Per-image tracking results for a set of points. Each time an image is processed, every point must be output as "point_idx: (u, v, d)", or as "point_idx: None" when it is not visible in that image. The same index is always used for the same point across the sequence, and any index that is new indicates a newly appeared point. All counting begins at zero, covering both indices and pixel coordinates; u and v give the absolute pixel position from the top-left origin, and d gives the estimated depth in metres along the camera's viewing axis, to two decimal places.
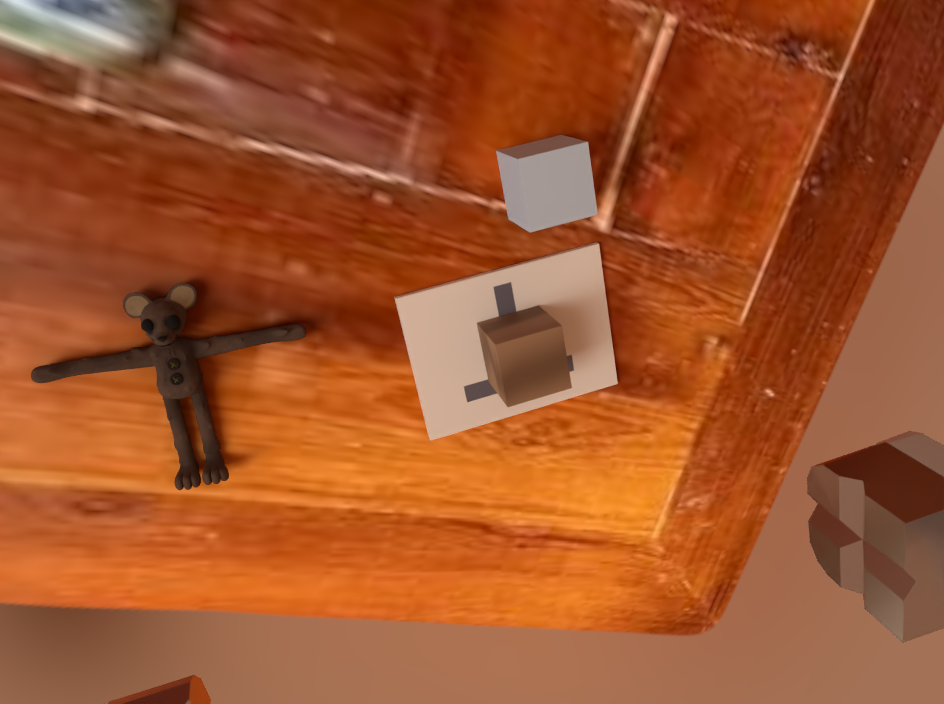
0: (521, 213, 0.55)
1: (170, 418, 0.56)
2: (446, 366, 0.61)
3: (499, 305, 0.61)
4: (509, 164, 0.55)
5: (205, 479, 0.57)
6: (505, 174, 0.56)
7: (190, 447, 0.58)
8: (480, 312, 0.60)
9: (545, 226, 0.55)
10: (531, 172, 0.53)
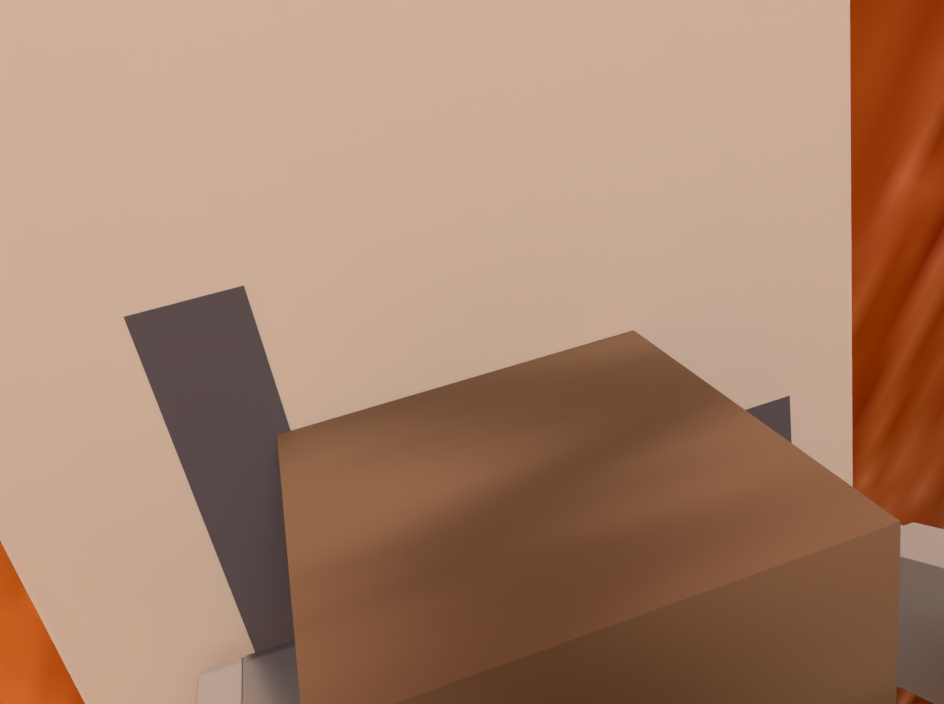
0: None
1: None
2: (389, 165, 0.10)
3: None
4: None
5: None
6: None
7: None
8: (678, 346, 0.11)
9: None
10: None
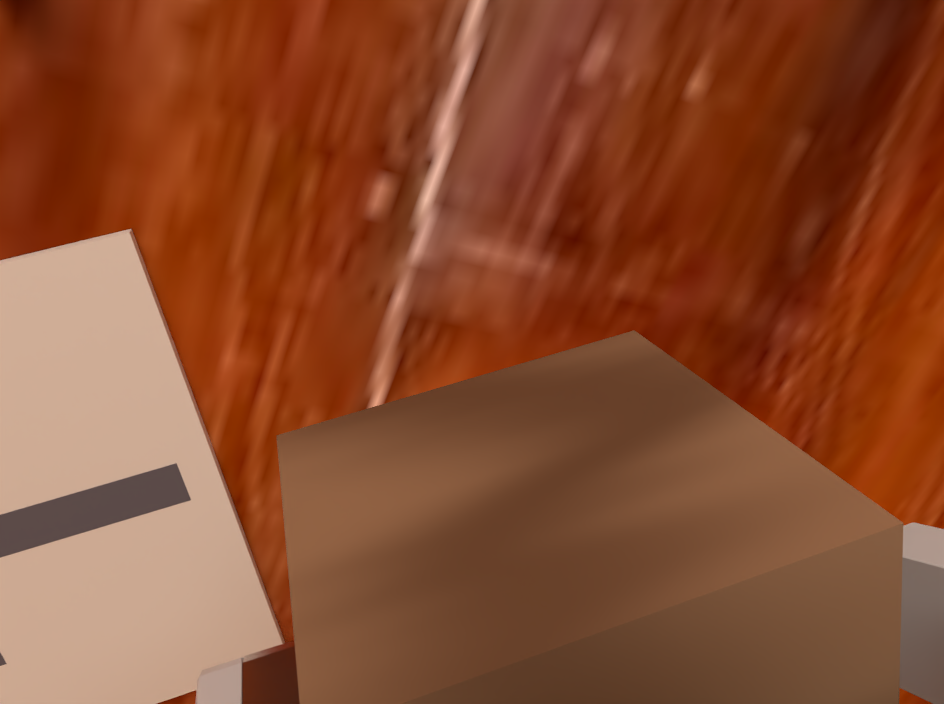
0: None
1: None
2: None
3: (129, 482, 0.25)
4: None
5: None
6: None
7: None
8: (104, 442, 0.24)
9: None
10: None
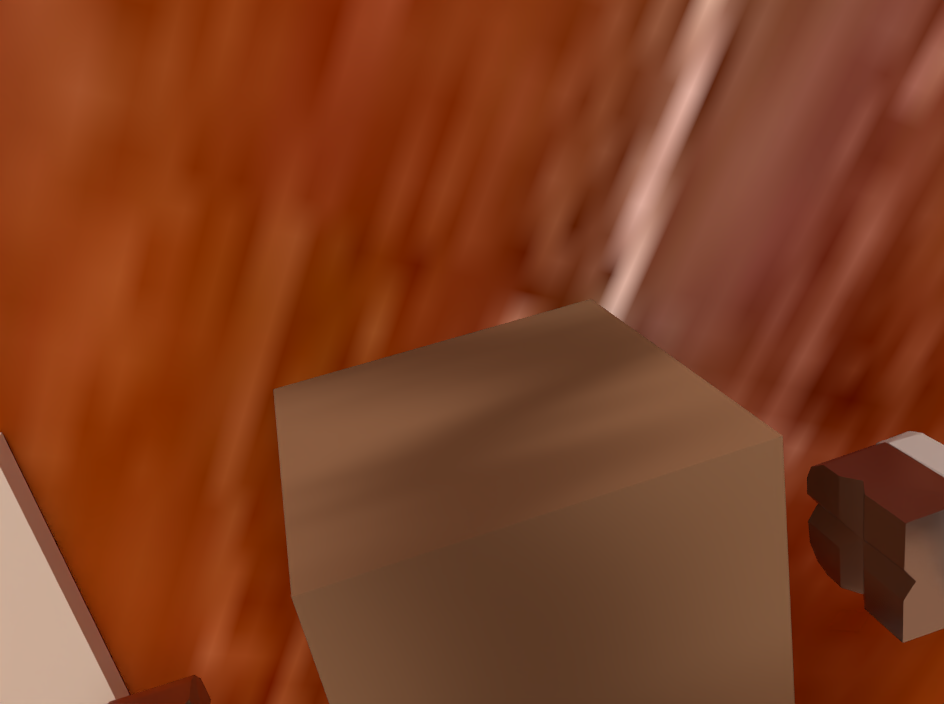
0: None
1: None
2: None
3: None
4: None
5: None
6: None
7: None
8: None
9: None
10: None
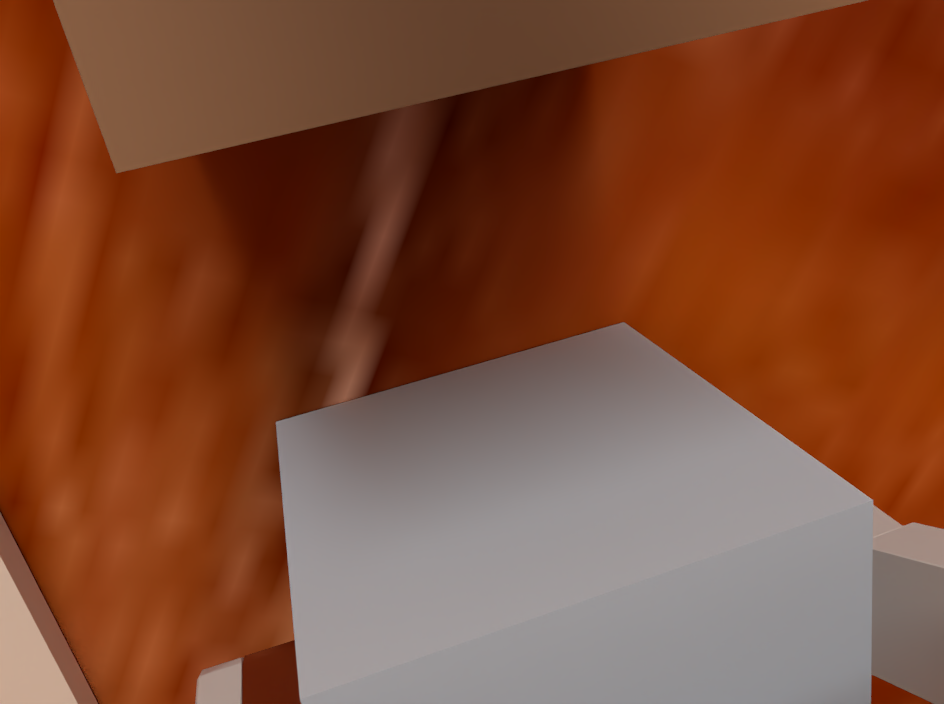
0: (410, 559, 0.07)
1: None
2: None
3: None
4: (692, 423, 0.09)
5: None
6: (561, 390, 0.10)
7: None
8: None
9: None
10: (766, 612, 0.07)
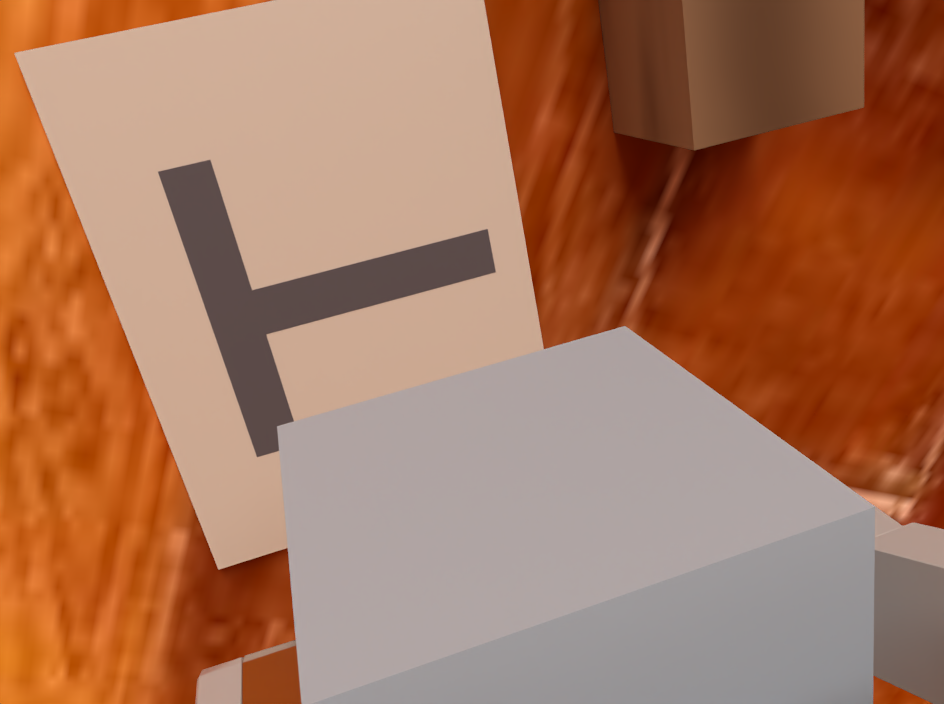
0: (412, 565, 0.07)
1: None
2: (274, 106, 0.22)
3: (441, 247, 0.24)
4: (694, 428, 0.09)
5: None
6: (562, 395, 0.10)
7: None
8: (423, 198, 0.24)
9: None
10: (768, 619, 0.07)
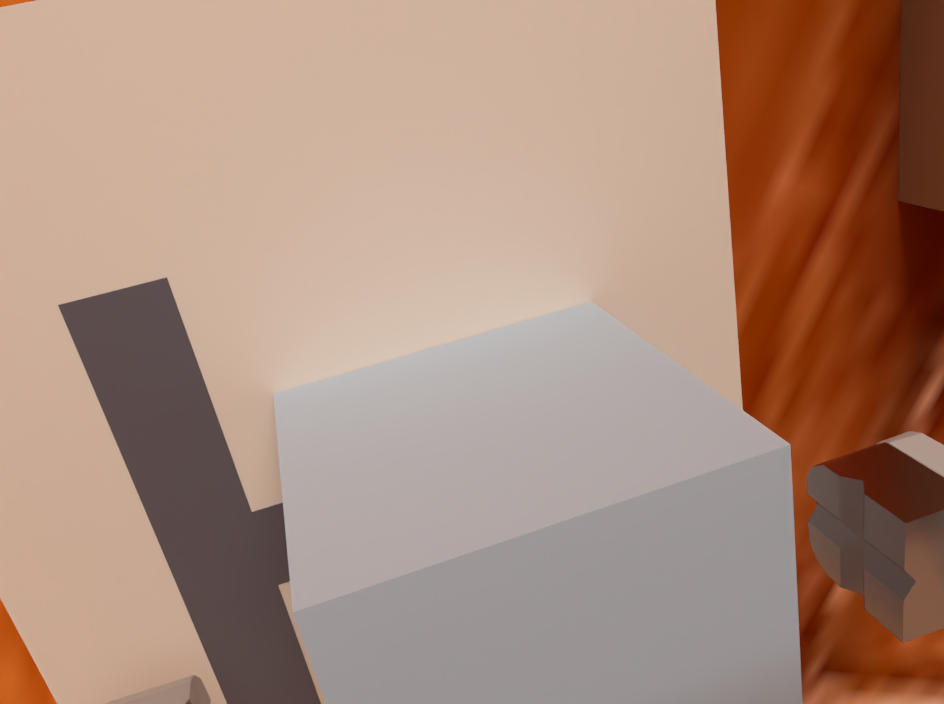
0: (390, 503, 0.08)
1: None
2: (296, 169, 0.11)
3: None
4: (643, 385, 0.10)
5: None
6: (530, 361, 0.11)
7: None
8: None
9: (340, 703, 0.08)
10: (699, 544, 0.08)
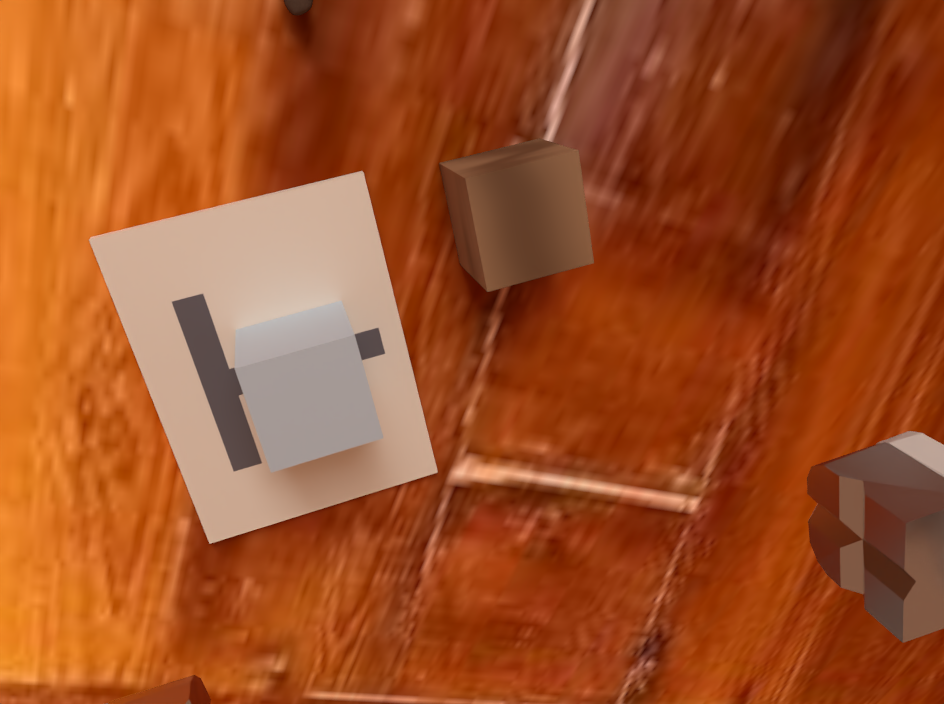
0: (261, 350, 0.34)
1: None
2: (241, 261, 0.36)
3: None
4: (335, 323, 0.35)
5: None
6: (312, 318, 0.36)
7: None
8: None
9: (246, 393, 0.33)
10: (334, 359, 0.33)
